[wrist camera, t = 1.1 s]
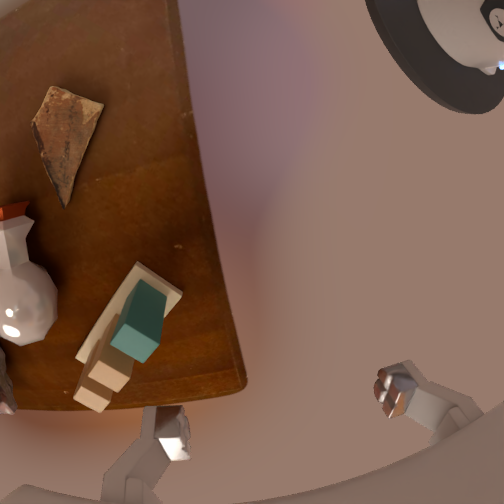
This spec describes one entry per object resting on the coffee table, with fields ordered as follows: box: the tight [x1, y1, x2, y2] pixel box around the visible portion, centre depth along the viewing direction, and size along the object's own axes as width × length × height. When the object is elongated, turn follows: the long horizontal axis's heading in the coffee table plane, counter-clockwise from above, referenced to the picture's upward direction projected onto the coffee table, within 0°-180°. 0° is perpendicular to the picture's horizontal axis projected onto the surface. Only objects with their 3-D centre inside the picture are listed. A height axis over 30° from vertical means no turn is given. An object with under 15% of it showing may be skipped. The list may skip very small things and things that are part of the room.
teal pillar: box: [110, 279, 167, 363], centre depth 27 cm, size 3×4×8 cm
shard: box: [30, 86, 104, 209], centre depth 23 cm, size 11×8×2 cm
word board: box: [73, 261, 183, 413], centre depth 29 cm, size 17×6×9 cm, turn 139°
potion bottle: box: [0, 201, 58, 346], centre depth 24 cm, size 9×10×15 cm
